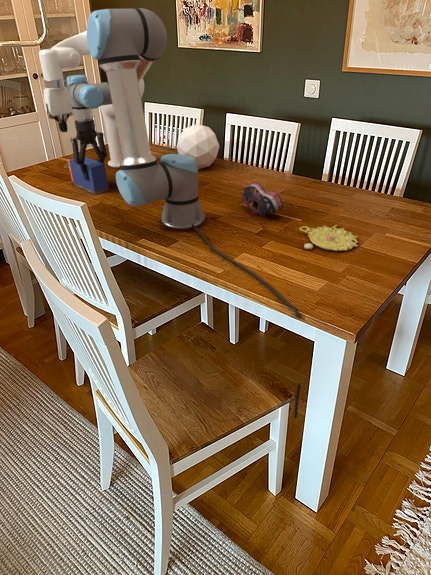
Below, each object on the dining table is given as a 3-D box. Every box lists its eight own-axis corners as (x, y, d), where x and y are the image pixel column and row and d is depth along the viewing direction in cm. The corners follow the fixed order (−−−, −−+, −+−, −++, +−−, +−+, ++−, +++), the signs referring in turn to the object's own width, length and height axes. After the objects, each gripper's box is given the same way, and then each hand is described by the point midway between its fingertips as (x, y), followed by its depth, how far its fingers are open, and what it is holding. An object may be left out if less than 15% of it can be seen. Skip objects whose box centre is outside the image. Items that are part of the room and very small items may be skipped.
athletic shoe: (254, 181, 170) (227, 189, 167) (283, 176, 151) (253, 185, 147) (260, 210, 173) (234, 218, 170) (290, 209, 154) (261, 219, 150)
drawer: (65, 178, 198) (60, 157, 193) (76, 175, 201) (72, 154, 196) (91, 189, 184) (86, 167, 179) (102, 186, 187) (98, 164, 182)
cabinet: (74, 185, 192) (69, 159, 186) (87, 181, 196) (83, 156, 190) (95, 194, 182) (90, 167, 176) (109, 190, 185) (104, 163, 179)
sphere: (204, 184, 208) (201, 158, 189) (171, 163, 213) (165, 136, 194) (227, 156, 213) (227, 128, 194) (194, 137, 217) (191, 107, 199)
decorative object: (343, 255, 128) (285, 234, 139) (342, 262, 130) (284, 241, 140) (372, 230, 142) (317, 213, 152) (371, 237, 143) (316, 219, 153)
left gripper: (67, 81, 183) (75, 127, 193) (32, 85, 175) (43, 133, 184) (76, 83, 179) (84, 130, 188) (41, 87, 170) (51, 136, 180)
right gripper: (100, 114, 179) (109, 170, 191) (56, 122, 168) (68, 181, 180) (110, 116, 174) (119, 173, 187) (65, 125, 163) (77, 185, 175)
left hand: (64, 131), depth 186 cm, fingers closed
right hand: (94, 177), depth 183 cm, fingers closed on cabinet, 7 cm apart
